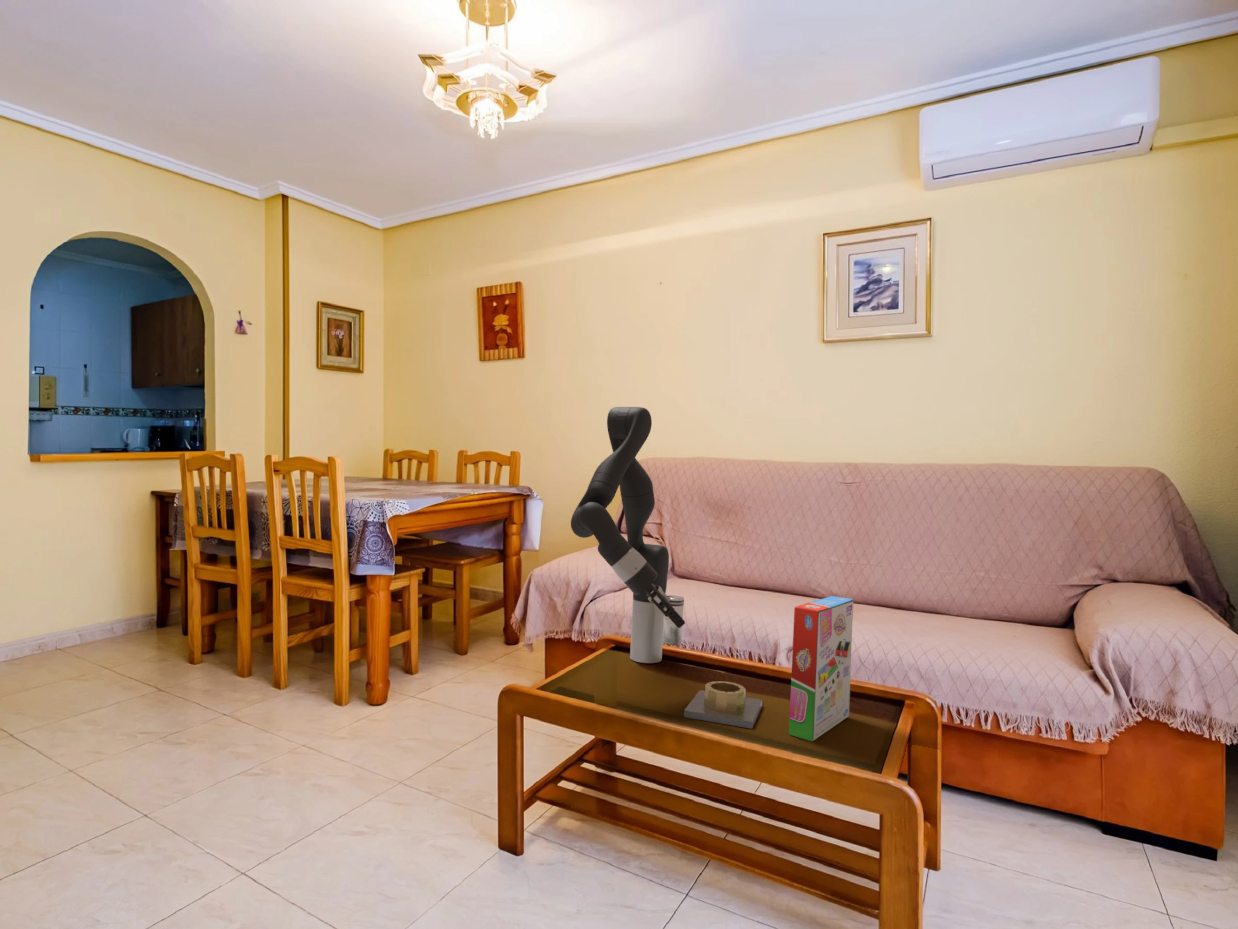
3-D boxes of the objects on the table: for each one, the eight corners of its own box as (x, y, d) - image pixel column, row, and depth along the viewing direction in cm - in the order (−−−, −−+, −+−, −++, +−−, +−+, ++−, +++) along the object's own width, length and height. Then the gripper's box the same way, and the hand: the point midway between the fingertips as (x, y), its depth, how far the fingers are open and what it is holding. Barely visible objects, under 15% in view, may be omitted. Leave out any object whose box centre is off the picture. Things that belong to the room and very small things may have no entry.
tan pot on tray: (699, 696, 163) (700, 673, 163) (761, 706, 158) (763, 682, 158) (683, 717, 147) (685, 692, 148) (752, 729, 142) (753, 703, 143)
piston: (665, 639, 164) (667, 594, 164) (683, 642, 163) (686, 596, 163) (660, 643, 160) (662, 597, 160) (679, 646, 158) (681, 599, 158)
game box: (826, 711, 156) (831, 595, 157) (849, 718, 153) (855, 599, 153) (787, 735, 140) (793, 605, 141) (812, 742, 137) (818, 609, 137)
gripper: (647, 564, 154) (696, 619, 154) (644, 556, 169) (689, 606, 169) (622, 585, 154) (672, 640, 154) (622, 576, 169) (667, 626, 168)
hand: (680, 622), depth 161 cm, fingers closed on piston, 4 cm apart
